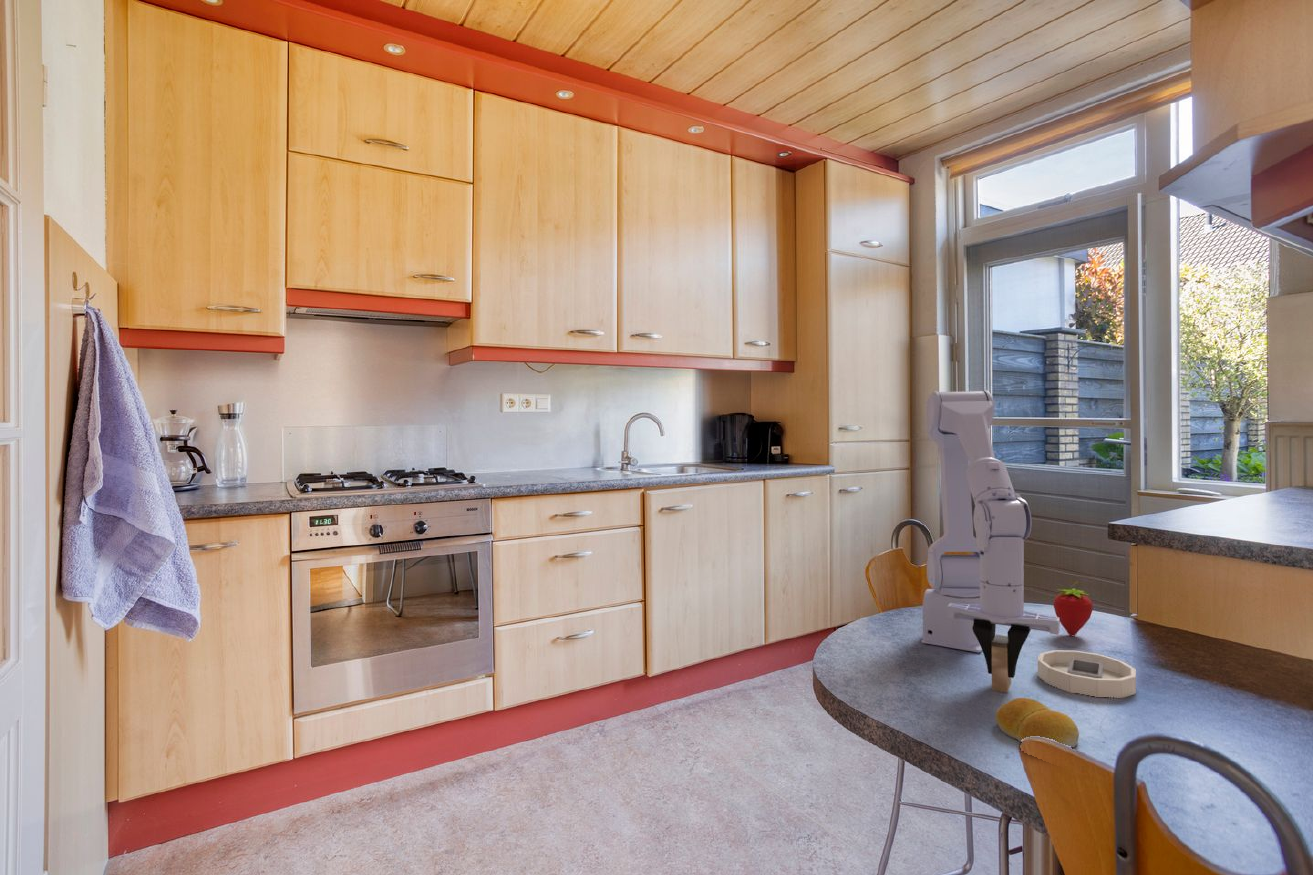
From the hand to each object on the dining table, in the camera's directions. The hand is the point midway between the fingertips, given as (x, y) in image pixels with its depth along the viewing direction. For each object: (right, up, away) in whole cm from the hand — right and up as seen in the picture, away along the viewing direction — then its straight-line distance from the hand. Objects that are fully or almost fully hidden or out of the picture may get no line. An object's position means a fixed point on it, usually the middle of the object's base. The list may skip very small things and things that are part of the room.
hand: (1001, 673), depth 99 cm
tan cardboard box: (0, -2, 0) cm, 2 cm away
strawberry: (+24, -1, +22) cm, 33 cm away
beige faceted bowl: (+13, -2, +2) cm, 14 cm away
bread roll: (-3, -3, -15) cm, 15 cm away
